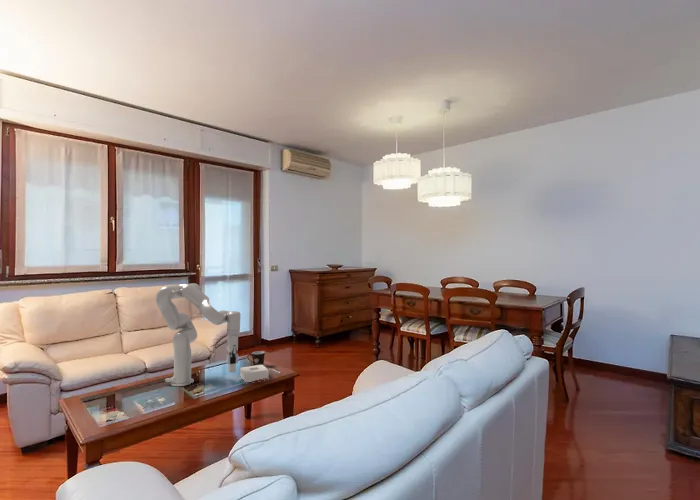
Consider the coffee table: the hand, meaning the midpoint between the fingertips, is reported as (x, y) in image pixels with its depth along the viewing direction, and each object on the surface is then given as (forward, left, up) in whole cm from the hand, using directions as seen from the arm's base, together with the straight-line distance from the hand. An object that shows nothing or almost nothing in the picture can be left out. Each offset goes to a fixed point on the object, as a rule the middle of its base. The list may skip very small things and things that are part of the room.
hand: (232, 362), depth 219 cm
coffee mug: (+22, +27, -12) cm, 37 cm away
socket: (+14, +2, -12) cm, 19 cm away
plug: (0, 0, -5) cm, 5 cm away
